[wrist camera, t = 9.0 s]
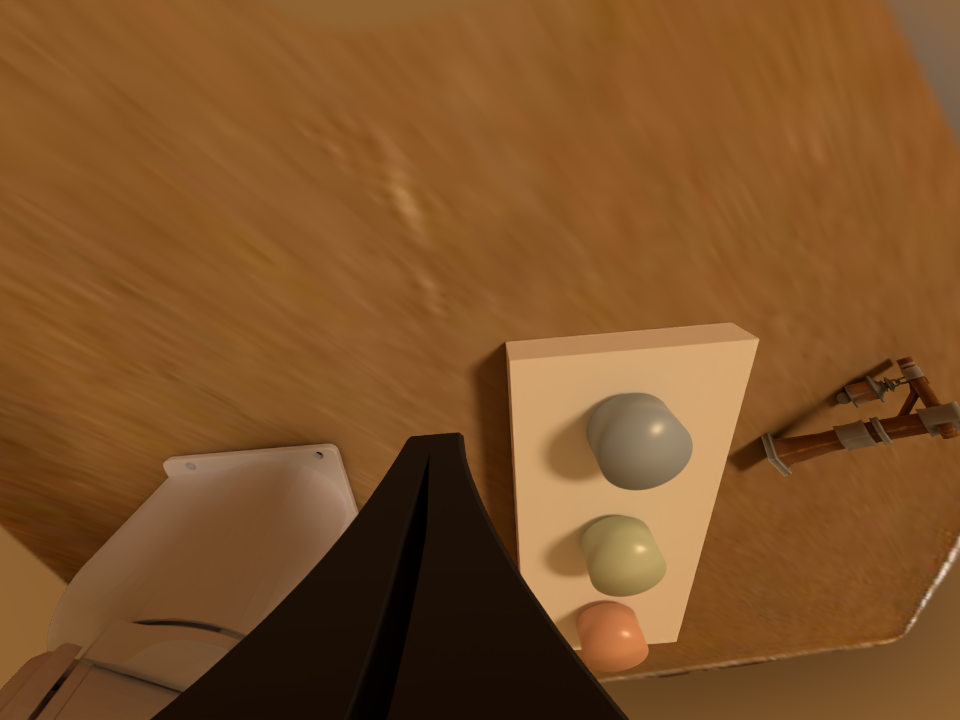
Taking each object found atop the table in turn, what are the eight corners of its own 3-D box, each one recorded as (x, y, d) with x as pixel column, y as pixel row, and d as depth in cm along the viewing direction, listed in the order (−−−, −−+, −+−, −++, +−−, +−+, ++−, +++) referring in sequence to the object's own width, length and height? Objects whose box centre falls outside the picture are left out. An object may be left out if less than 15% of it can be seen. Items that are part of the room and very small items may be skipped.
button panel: (521, 624, 30) (524, 653, 28) (505, 342, 19) (509, 360, 17) (663, 613, 29) (676, 641, 28) (731, 322, 19) (759, 339, 17)
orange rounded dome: (574, 640, 27) (582, 674, 25) (576, 605, 25) (585, 639, 23) (632, 635, 27) (644, 669, 25) (638, 600, 25) (652, 634, 23)
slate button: (584, 463, 19) (597, 493, 18) (588, 396, 17) (602, 422, 16) (664, 456, 19) (684, 486, 17) (676, 389, 17) (700, 414, 16)
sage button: (579, 565, 23) (588, 599, 21) (581, 519, 21) (592, 551, 19) (646, 560, 23) (661, 593, 21) (654, 513, 21) (671, 545, 19)
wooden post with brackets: (942, 362, 19) (1005, 437, 16) (764, 416, 24) (785, 480, 21) (929, 340, 19) (992, 414, 15) (749, 400, 24) (769, 464, 21)
